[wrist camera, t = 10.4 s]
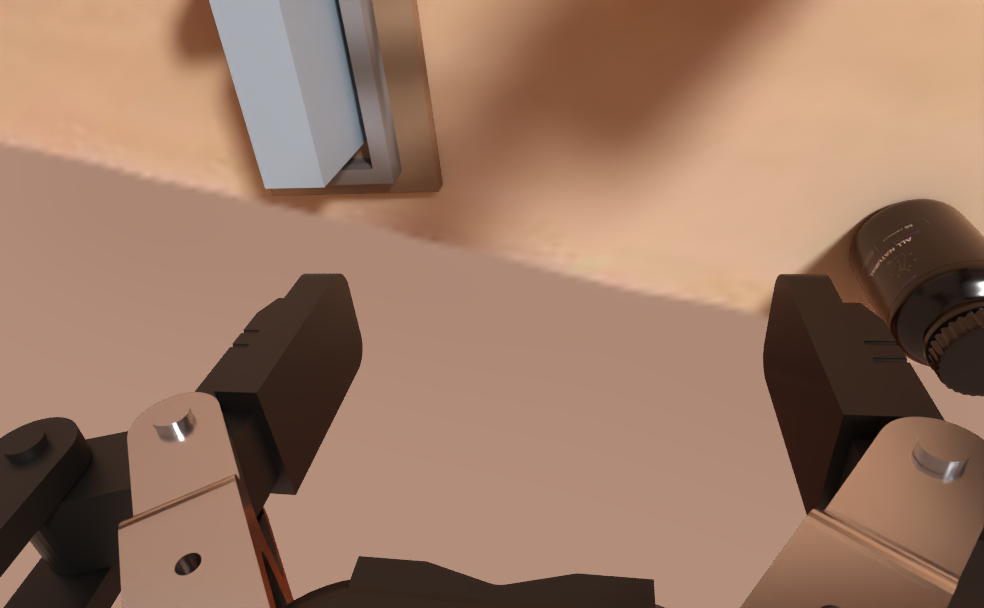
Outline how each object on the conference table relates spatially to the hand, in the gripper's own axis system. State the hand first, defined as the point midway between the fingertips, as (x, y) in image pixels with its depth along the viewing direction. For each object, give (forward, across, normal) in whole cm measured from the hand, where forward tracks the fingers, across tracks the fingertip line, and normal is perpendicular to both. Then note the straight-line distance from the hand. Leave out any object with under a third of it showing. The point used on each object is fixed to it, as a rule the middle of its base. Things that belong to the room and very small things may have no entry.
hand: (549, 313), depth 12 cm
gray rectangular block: (+29, +16, +1) cm, 33 cm away
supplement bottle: (+30, -20, +15) cm, 39 cm away
